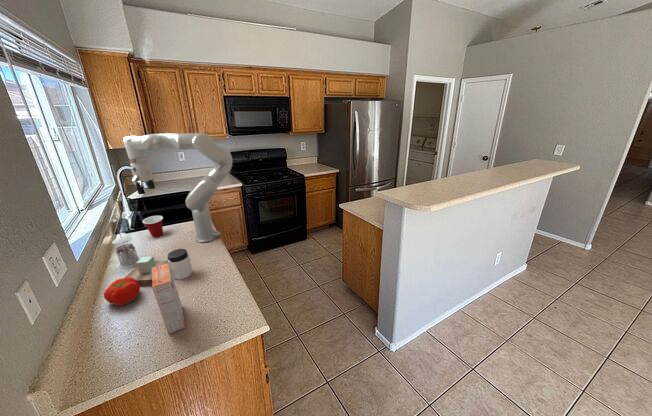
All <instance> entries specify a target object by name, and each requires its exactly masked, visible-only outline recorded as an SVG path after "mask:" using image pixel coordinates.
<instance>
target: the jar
mask: <svg viewBox="0 0 652 416" xmlns="http://www.w3.org/2000/svg"><path fill="white" fill-rule="evenodd" d="M167 260H169V261H168V263H169V266H170V269H171V272H172V275H173V279H174V280H183V279H185V278H188V277H190V276H191V275H192V273H193V267H192V263H191V259H190V255H189V254H188V251H187V249H185V248H177V249H174V250H171V251H170V252H169V253H168V254H167Z"/></svg>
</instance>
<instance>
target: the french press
mask: <svg viewBox="0 0 652 416" xmlns="http://www.w3.org/2000/svg"><path fill="white" fill-rule="evenodd" d="M112 222H113V223H115V224H116V225H115V226H116V227H117V230H118V233H119V236H118V237H117V238H115V239H114V240H112V242H111V243H112V245H116V246H117V245H119V246H117V247H116V249H115V250H116V251H115V253H116V255H117V258H118V261H119V265H118V268H120V269H128V268H132V267H134V266H135V267H136V266H137V264H136V262H137V261H138V260H140V259H141V258H139V256H138V254H137V251H136V247H135V246H134V245H133V243H128V242H130V241H131V239H132V236H128V235H121V232H120V230H119V227H118V224H117V223H118V219H113V220H112Z"/></svg>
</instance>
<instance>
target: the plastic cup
mask: <svg viewBox="0 0 652 416" xmlns="http://www.w3.org/2000/svg"><path fill="white" fill-rule="evenodd" d="M163 219H164V217H163V215H151V216H148V217H146V218H144V219H142V223H143V224H144V225H145V227H146V228H147V230H148V232H149V233H150V235H151V237H152V238H153V237H154V239H157V237H158V238H160V236H161V237H162V236H163V235H164V230H163V229H164V228H163Z"/></svg>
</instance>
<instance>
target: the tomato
mask: <svg viewBox="0 0 652 416" xmlns="http://www.w3.org/2000/svg"><path fill="white" fill-rule="evenodd" d="M125 277H126V276H125ZM140 292H141V286H139V283H138V281H137V280H135V279H134V278H131V277H126V278H125V279H124V277H123V278H122V277H121V278H117V279H116V280H114V281H113V282H111V284H110V285H108V287H107V288H106V289H105V291H104V293H103V298H104V299H105V301H106V302H107V303H109V304H110V305H116V306H124V305H127V304H129V303H130V302H131V301H133V300H135V298H137V296H139V293H140Z"/></svg>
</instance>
